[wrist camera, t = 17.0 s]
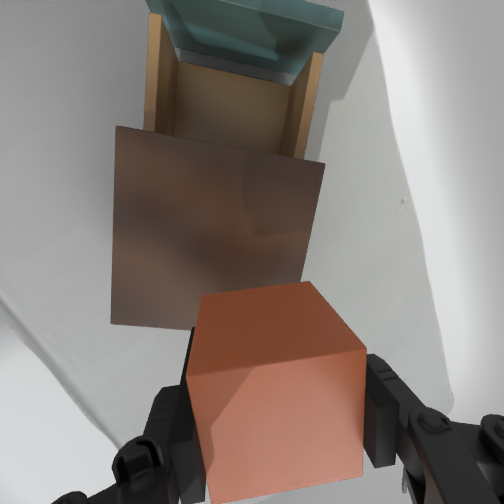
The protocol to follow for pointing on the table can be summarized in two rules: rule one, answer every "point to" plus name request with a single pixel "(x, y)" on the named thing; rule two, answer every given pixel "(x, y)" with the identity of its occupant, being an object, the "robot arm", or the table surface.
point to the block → (275, 391)
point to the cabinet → (203, 224)
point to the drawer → (234, 85)
